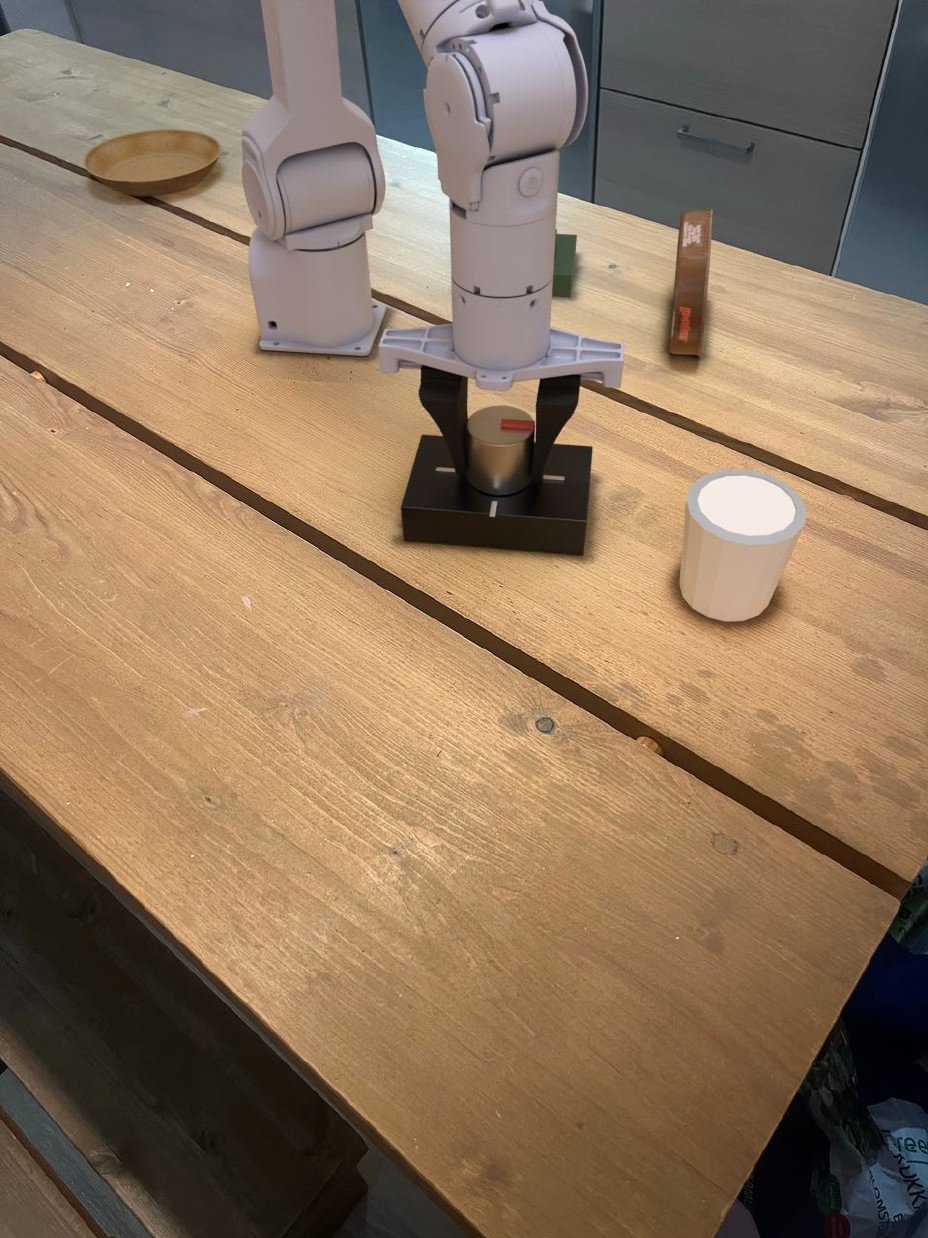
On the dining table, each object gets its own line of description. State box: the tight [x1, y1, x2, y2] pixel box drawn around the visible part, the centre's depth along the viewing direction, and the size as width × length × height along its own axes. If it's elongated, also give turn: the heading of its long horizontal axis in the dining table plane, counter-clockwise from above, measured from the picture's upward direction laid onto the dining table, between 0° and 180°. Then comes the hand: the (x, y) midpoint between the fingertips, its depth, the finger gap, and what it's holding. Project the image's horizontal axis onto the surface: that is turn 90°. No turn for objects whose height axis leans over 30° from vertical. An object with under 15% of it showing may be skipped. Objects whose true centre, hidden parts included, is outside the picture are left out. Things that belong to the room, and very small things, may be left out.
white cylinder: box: [679, 468, 808, 622], centre depth 58 cm, size 7×7×7 cm
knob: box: [466, 405, 536, 495], centre depth 62 cm, size 4×4×4 cm
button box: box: [552, 228, 578, 298], centre depth 88 cm, size 10×8×4 cm
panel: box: [400, 434, 594, 556], centre depth 65 cm, size 12×9×3 cm
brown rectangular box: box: [668, 209, 714, 357], centre depth 79 cm, size 15×3×8 cm, turn 168°
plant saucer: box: [82, 128, 222, 197], centre depth 105 cm, size 15×15×3 cm
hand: (499, 468), depth 63 cm, fingers closed on knob, 4 cm apart
